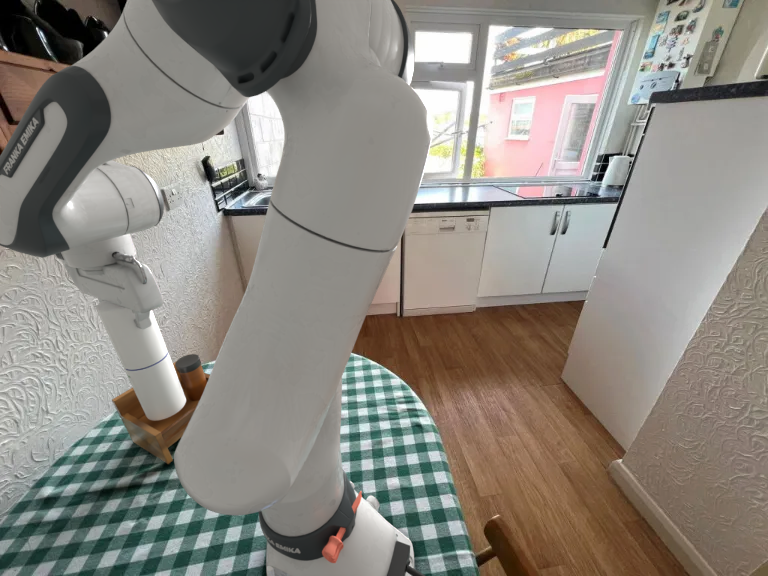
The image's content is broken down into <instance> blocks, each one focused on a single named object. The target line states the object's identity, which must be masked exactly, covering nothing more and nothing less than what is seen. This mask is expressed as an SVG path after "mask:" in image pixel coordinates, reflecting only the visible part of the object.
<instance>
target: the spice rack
mask: <svg viewBox="0 0 768 576" xmlns="http://www.w3.org/2000/svg"><path fill="white" fill-rule="evenodd" d="M172 363H173V366H174V368H175V371H176V374H177V376H178V379H179V382H180V384H181V387H182V390H183V392H184V395H185V398H186V403H185V405H184V407H183V408H182V409H181V410H180V411H179V412H177V413H176V414H174V415H172V416H171V417H168V418H166V419H163V420H156V421H154V420H149V419H148V418H147V417H146V415H145V412H144V410H143V408H142V406H141V404H140V402H139V400H138V397H137V395H136V393H135V391H134V389H133V387H132V386H131V388H129V389H127V390H126V391H124V392H123V393H121V394H118V395H117V396H116V397H114V398H112V399H111V402H112V404H113V406H114V408H115V409H116V412H117V413H118V415H119V417H120V419H121V421H122V423H123V425H124V427H125V429H126V431H127V433H128V435H129V437H130V439H131V441H132V443H134V444H136V445H137V446H139V447H140V448H142V449H143V450H145V451H147V452H148V453H150V454H151V455H152V456H154V457H156V458H157V459H159V460H161V461H163V462H164V463H166V464H167V465H170V464H171V462H174V458H173V457H172V454H171V452H170V450H169V448H170V447H171V446H172V445H174V444H175V443H176V442H177V441H179V440H181V437H182V435H183V433H184V431H185V429H186V427H187V425H188V423H189V421H190V419H191V417H192V415H193V413H194V411H195V409H196V407H197V405H198V403H199V401H200V399H201V397H202V394H203V392H204V389H205V387H206V384H207V382H208V379H209V377H210V374H209V373H206V372H204V369H203V366H202V361H201V358H200V356H199V354H195V353H191V354H185V355H184V356H181V357H180V358H178V359H177V360H176V361H174V362H172Z"/></svg>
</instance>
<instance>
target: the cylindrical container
mask: <svg viewBox="0 0 768 576" xmlns="http://www.w3.org/2000/svg"><path fill="white" fill-rule="evenodd" d="M95 310H96V312H97V314H98V316H99V318H100V320H101V322H102V325H103V327H104V329H105V331H106V333H107V335H108V337H109V339H110V341H111V344H112V346H113V349H114V350H115V352H116V355H117V356H118V359H119V361H120V363H121V365H122V368H123V370H124V371H125V374H126V376H127V378H128V380H129V383H130V385H131V388H132V387H133V389H134V391H135V393H136V395H137V397H138V400H139V402H140V404H141V406H142V408H143V410H144V412H145V415H146V417H147V418H148V419H149V420H154V421H156V420H163V419H166V418H168V417H171V416H172V415H174V414H176V413H177V412H179V411H180V410H181V409H182V408H183V407H184V405H185V403H186V398H185V395H184V392H183V390H182V387H181V384H180V382H179V379H178V376H177V374H176V371H175V368H174V366H173V363H174V362H173V361H172V358H171V355H170V353H169V351H168V347H167V345H166V342H165V340H164V337H163V334H162V332H161V329H160V326H159V324H158V321H157V319H156V316H155V313H154V311H153V310H151V311H150V317H149V318H150V320H151V323H152V325H151V326H150V327H148V328H146V329H140V328H138V327H136V324H135V322H134V319H136V318H135V313H133V312H132V310H131V309H128V308H125V307H122V306H119V305H116V304H113V303H110V302H108V301H105V300H104V301H102V302H99V303H98V304H96V306H95Z"/></svg>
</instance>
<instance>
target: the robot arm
mask: <svg viewBox="0 0 768 576" xmlns="http://www.w3.org/2000/svg"><path fill="white" fill-rule="evenodd" d="M409 28H410V27H409V25H408V23H407V21H406V19H405V16H404V13H403V12H402V10H401V8H400V6H399V5H398V4H397V2H396V1H395V0H126V3H125V5H124V7H123V10H122V13H121V14H120V17H119V19H118V21H117V22H116V24H115V26H114V27H113V29H112V30H110V32H109V33H108V35H106V37H105V38H104V39H102V41H101V42H100V43H99V44H98V45H97V46H96V47H94V49H93V50H92V51H90V52H89V53H88V54H87V55H85V56H84V57H82V58H81V59H80V60H78V61H76V62H74V63H73V64H72V65H69V66H66V67H64V68H63V69H61V70H59V71H57V72H56V73H54V74H52V75H51V76H49V77H48V78H47V79H46V80H45V81H44V83H43V84H42V85H41V87H40V88H39V89H38V91H37V92H36V94H35V95H34V97H33V99H31V101H30V103H29V105H28V107H27V108H26V110H25V111H24V114H23V115H22V116H21V119H20V120H19V122H18V124H17V126H16V128H15V129H14V130H13V133H12V134H11V136H10V138H9V140H8V142H7V144H6V145H5V147H4V148H3V150H2V152H1V154H0V246H1V247H3V248H6V249H9V250H11V251H14V252H16V253H21V254H25V255H28V256H33V257H37V258H43V259H44V258H48V257H50V256H51V257H52V256H55V258H56V259H58V260H61V262H62V264H63V266H64V268H65V270H66V272H67V274H68V275H69V277H70V278H71V280H72V283H73V284H74V285H75V286H76V288H77V289H78V290H79V291H80V292H81V293H82V294H84V295H87V296H90V297H94V298H96V299H97V300H98V302H99V303H100V302H102V301H104V300H105V301H108V302H110V303H113V304H116V305H119V306H122V307H125V308H128V309H131V310H132V312H133V313H135V318H136V319H134V322H135V324H136V327H138V328H140V329H146V328H148V327H150V326H151V325H152V323H151V320H150V318H149V317H150V311H151V310H152V311H153V310H156V309H158V308H160V307H162V306H163V304H164V296H163V294H162V292H161V289H160V286H159V284H158V282H157V280H156V278H155V276H154V274H153V272H152V271H151V269H150V268H149V266H148V265H146V264H145V263H143V262H139V261H138V259H137V258H136V255H137V254H138V252H137V249H136V246H135V243H134V241H133V238H132V235H131V234H135V233H139V232H143V231H146V230H149V229H151V228H153V227H156V226H158V225H159V223H160V222H161V220H162V219H163V217H164V216H163V215H164V210H165V202H164V198H163V194H162V192H161V189H160V187H159V185H158V184H157V183H156V181H155V180H154V179H153V178H152V177H151V176H150V175H149V174H147V172H145V171H144V170H142V169H140V168H139V167H137V166H135V165H127V164H124V163H121V162H118V161H116V159H119V158H123V157H127V156H131V155H136V154H140V153H147V152H150V151H151V152H152V151H158V150H165V149H174V148H179V147H181V148H182V147H186V146H193V145H198V144H202V143H205V142H207V141H209V140H210V139H212V138H214V137H215V136H216V135H217V134H219V133H220V132H222V131H223V130H224V129H225V128H227V127H228V126H229V125H230V124H231V123H232V122H233V121H234V120H235V118H236V117H237V116H238V115H239V113H240V111H241V110H242V109H243V108H244V106H245V105H246V103H247V102H248V100H249V99H250V98H253V97H257V96H259V95H262V94H264V93H267V94H268V95H269V96H270V98H271V99H272V100H273V102H274V104H275V105H276V108H277V109H278V112H279V114H280V117H281V120H282V125H283V134H284V135H283V136H284V137H283V138H284V139H283V147H282V154H281V158H280V162H279V165H278V169H277V172H276V176H275V179H274V183H273V187H272V191H271V194H270V198H269V201H268V206H267V211H266V214H265V217H264V222H263V225H262V226H263V227H262V230H261V234H260V239H259V243H258V247H257V250H256V255H255V259H254V262H253V266H252V270H251V273H250V277H249V280H248V283H247V286H246V289H245V291H244V293H243V296H242V299H241V301H240V304H239V305H238V308H237V310H236V312H235V314H234V317H233V319H232V321H231V323H230V326H229V328H228V330H227V331H226V335H225V337H224V339H223V342H222V344H221V346H220V348H219V351H218V354H217V355H216V359H215V361H214V364H213V367H212V369H211V372H210V374H209V375H210V377H209V379H208V382H207V384H206V387H205V389H204V392H203V394H202V397H201V399H200V401H199V403H198V405H197V407H196V409H195V411H194V413H193V415H192V417H191V419H190V421H189V423H188V425H187V427H186V429H185V431H184V433H183V435H182V437H181V438H180V439H179V441H178V444H177V446H176V448H175V451H174V454H173V464H174V468H175V473H176V476H177V479H178V481H179V483H180V485H181V487H182V488H183V489H184V492H185V493H186V494H187V495H188V496H189V497H190V498H191V500H193V501H194V502H195V503H197V504H198V505H199V506H201V507H202V508H204V509H206V510H208V511H210V512H212V513H215V514H219V515H224V516H245V515H251V514H255V513H258V522H259V525H260V530H261V531H262V534H263V535H264V537H265V540H266V552H265V553H266V555H265V557H266V559H265V560H266V561H265V562H266V563H265V567H266V576H426V575H425V574H423V573H422V572H421V571H419V570H417V569H415V552H414V547H413V543H412V541H411V540H410V538H408V536H406V535H405V534H404V533H402V532H401V531H400V530H398V529H397V528H396V527H395V526H394V525H392V524H391V523H390V522H389V521H388V520H387V519H386V518H385V517H384V516H382V514H381V513H379V511H378V510H379V509H380V502H379V500H378V499H377V497H375V496H373V495H371V494H370V495H368V496H367V498H366V499H365V498H364V497H363V495H362V494H363V491H362V490H360V491H359V492H357V491H356V490H355V488H356V485H355V484H354V483H353V482H352V481H351V480H349V477H348V475H347V473H346V471H345V470H344V468H343V460H342V459H343V458H342V449H341V430H342V405H343V404H342V402H343V400H342V399H343V375H344V373H345V370H346V367H347V365H348V362H349V360H350V357H351V355H352V352H353V350H354V347H355V344H356V343H357V339H358V336H359V334H360V331H361V329H362V326H363V324H364V322H365V319H366V317H367V314H368V312H369V310H370V308H371V306H372V304H373V301H374V299H375V297H376V294H377V292H378V290H379V289H380V285H381V283H382V282H383V279H384V278H385V274H386V272H387V270H388V269H389V265H390V264H391V262H392V259H393V258H394V257H393V256H394V255H395V252H396V250H397V248H398V246H399V244H400V242H401V239H402V236H403V234H404V232H405V230H406V227H407V224H408V222H409V219H410V217H411V214H412V212H413V209H414V205H415V203H416V199H417V196H418V193H419V190H420V188H421V183H422V180H423V177H424V173H425V169H426V165H427V162H428V157H429V153H430V148H431V144H432V140H433V139H432V138H433V124H432V119H431V115H430V112H429V110H428V108H427V106H426V103H425V102H424V101H423V99H422V98H421V96H420V95H419V94H418V92H416V90H415V89H414V88H413V87H412V86H411V83H412V78H413V74H414V69H415V68H414V67H415V51H414V42H413V38H412V35H411V31H410V29H409Z"/></svg>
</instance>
